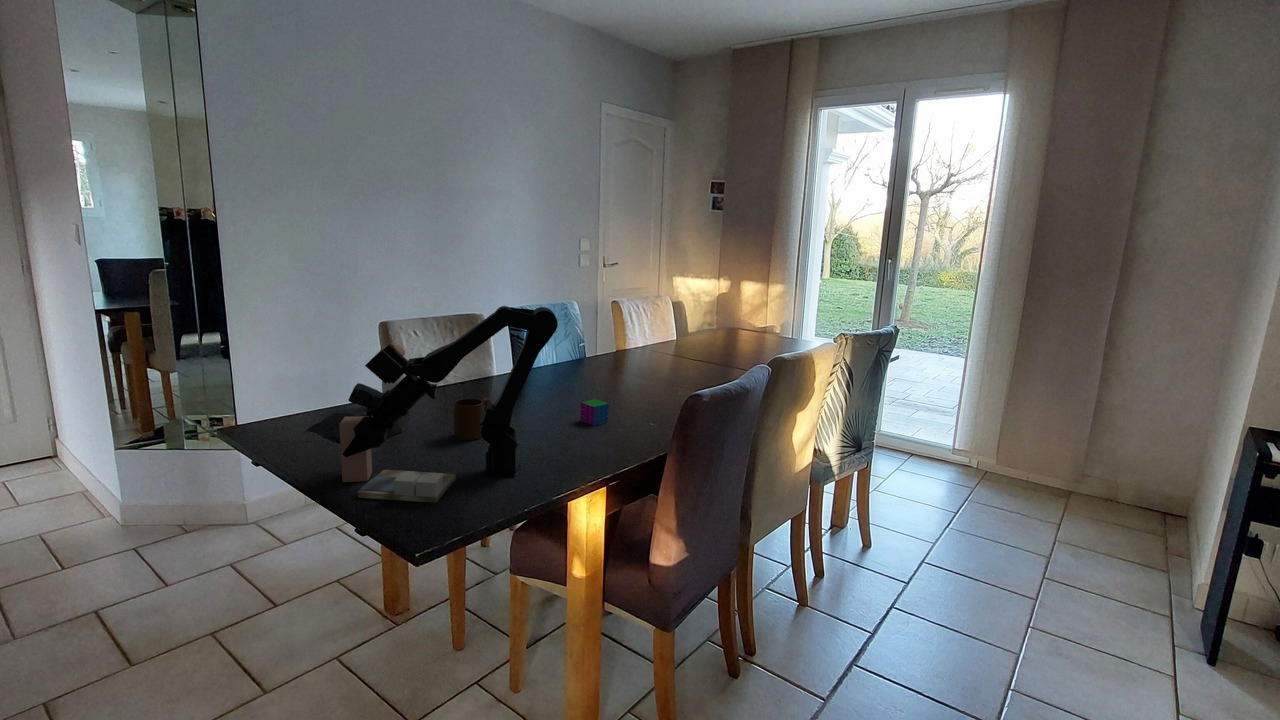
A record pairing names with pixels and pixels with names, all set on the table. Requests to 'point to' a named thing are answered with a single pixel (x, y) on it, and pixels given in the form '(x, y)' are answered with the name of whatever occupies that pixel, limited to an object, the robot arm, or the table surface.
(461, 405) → the mug
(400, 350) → the salt shaker
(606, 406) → the puzzle toy
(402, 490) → the built blocks
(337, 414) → the dark slate chunk
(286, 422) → the table surface
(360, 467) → the tower block
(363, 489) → the board
